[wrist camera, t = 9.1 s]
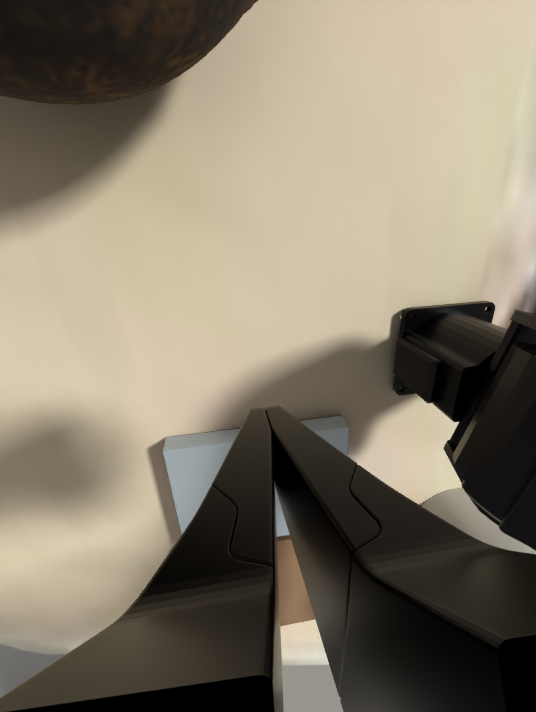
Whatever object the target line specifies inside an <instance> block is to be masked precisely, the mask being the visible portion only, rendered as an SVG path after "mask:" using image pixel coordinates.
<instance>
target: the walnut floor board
mask: <svg viewBox="0 0 536 712" xmlns="http://www.w3.org/2000/svg"><path fill="white" fill-rule="evenodd" d="M277 554H278V580H279V606H280V626H283V625H288V624H293V623H298V622H304V621H309V620H314V619H315V616H314V613H313V609H312V606H311V603H310V600H309V596H308V593H307V590H306V587H305V583H304V580H303V577H302V573H301V570H300V567H299V564H298V560H297V557H296V554H295V551H294V547H293V544H292V541H291V538H290V535H285V536H279V537H277Z"/></svg>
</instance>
